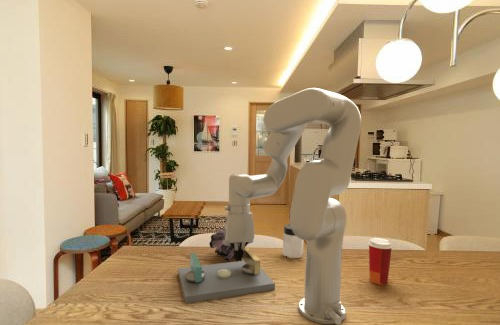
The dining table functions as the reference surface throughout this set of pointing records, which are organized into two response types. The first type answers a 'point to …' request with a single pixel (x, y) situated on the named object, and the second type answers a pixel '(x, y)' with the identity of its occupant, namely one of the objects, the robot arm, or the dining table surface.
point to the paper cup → (379, 260)
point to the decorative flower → (221, 245)
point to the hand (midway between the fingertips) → (238, 259)
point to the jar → (292, 243)
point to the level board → (223, 282)
